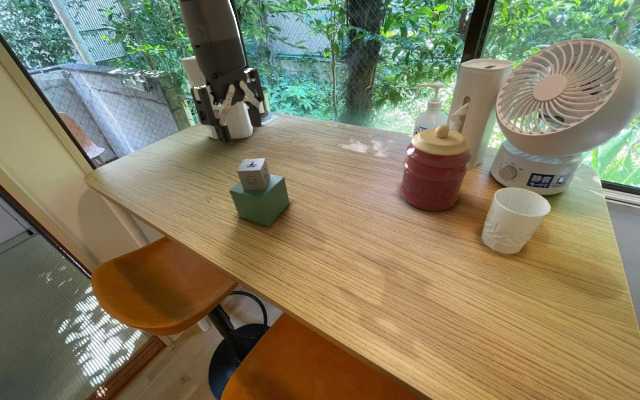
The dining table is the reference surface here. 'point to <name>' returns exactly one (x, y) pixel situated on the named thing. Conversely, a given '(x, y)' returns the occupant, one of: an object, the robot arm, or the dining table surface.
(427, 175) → the kitchen canister
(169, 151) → the dining table surface
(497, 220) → the white cup
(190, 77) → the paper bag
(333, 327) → the dining table surface
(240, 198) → the green block
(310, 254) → the dining table surface
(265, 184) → the dice cube
